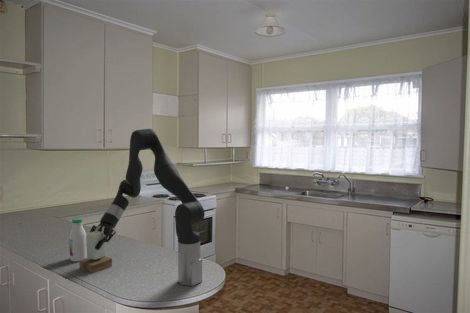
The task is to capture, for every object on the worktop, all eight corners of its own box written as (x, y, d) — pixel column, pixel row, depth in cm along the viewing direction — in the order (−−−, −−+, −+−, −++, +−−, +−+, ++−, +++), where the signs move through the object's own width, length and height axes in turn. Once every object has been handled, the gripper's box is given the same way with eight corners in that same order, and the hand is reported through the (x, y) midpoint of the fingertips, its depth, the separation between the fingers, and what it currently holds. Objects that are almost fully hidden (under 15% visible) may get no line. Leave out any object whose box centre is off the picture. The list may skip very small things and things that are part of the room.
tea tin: (104, 255, 162) (103, 232, 162) (94, 259, 158) (94, 235, 157) (96, 253, 165) (95, 230, 164) (86, 257, 160) (86, 233, 159)
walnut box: (112, 267, 163) (111, 258, 163) (92, 274, 155) (92, 265, 154) (99, 262, 169) (98, 254, 168) (79, 269, 161) (79, 260, 160)
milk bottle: (89, 256, 176) (88, 216, 174) (83, 262, 168) (82, 220, 166) (74, 256, 176) (72, 216, 174) (67, 262, 168) (65, 221, 166)
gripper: (97, 210, 170) (76, 241, 160) (118, 213, 163) (97, 246, 153) (106, 218, 175) (86, 249, 165) (127, 222, 168) (108, 254, 158)
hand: (92, 247), depth 159 cm, fingers closed on tea tin, 5 cm apart
